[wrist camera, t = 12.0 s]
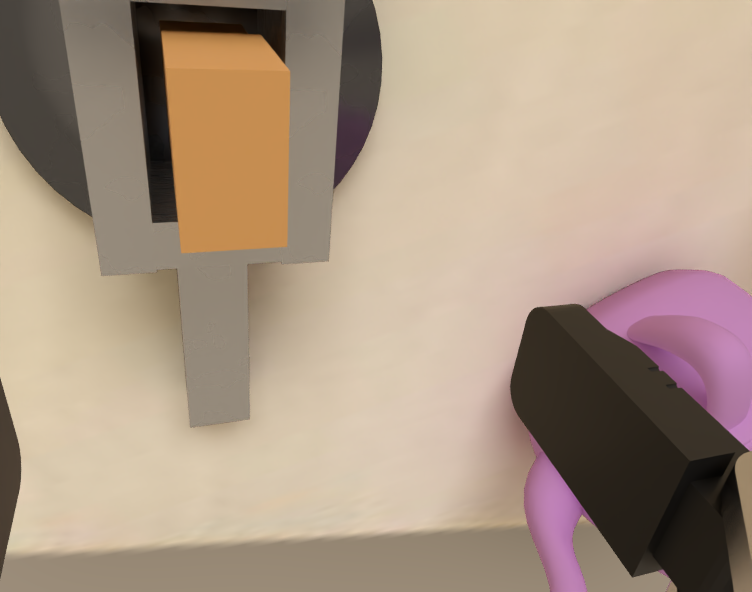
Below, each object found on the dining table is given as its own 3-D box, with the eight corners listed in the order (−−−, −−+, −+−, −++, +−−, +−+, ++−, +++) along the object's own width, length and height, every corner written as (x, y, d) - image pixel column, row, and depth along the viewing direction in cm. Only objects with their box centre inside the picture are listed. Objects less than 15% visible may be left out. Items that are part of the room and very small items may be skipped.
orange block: (241, 10, 24) (290, 71, 16) (243, 138, 26) (287, 246, 18) (157, 5, 23) (165, 68, 15) (169, 139, 25) (181, 253, 17)
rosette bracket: (388, -127, 24) (469, -132, 18) (345, 370, 37) (384, 464, 31) (-61, -187, 20) (-151, -220, 14) (66, 404, 32) (49, 521, 26)
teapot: (701, 164, 37) (972, 298, 25) (722, 382, 50) (908, 540, 38) (367, 354, 37) (475, 580, 25) (473, 524, 50) (579, 728, 37)
